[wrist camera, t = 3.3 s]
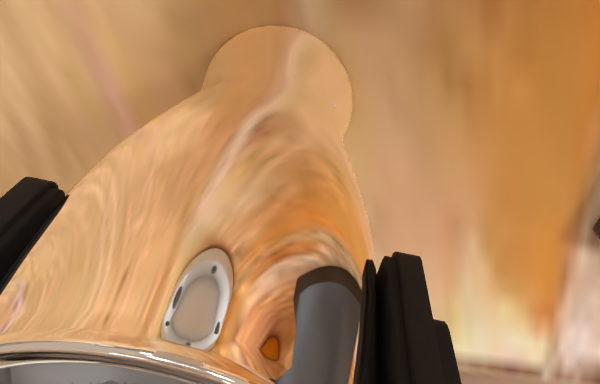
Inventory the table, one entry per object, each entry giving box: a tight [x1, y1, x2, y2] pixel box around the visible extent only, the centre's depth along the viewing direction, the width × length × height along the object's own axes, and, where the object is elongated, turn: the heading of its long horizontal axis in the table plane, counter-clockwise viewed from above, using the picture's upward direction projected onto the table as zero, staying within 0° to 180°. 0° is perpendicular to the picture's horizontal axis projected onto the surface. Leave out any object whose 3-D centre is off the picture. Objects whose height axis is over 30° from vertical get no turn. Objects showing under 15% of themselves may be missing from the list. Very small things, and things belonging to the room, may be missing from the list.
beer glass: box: [0, 25, 379, 384], centre depth 13 cm, size 7×7×15 cm
